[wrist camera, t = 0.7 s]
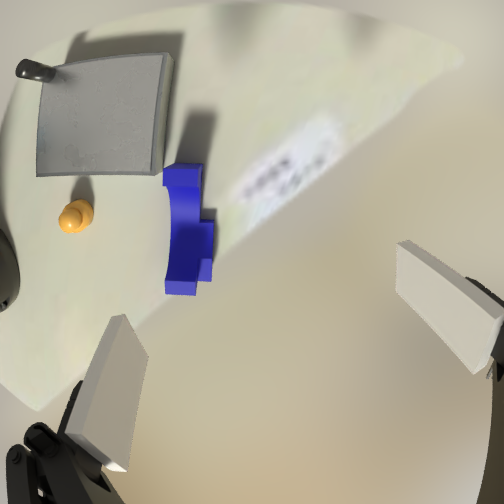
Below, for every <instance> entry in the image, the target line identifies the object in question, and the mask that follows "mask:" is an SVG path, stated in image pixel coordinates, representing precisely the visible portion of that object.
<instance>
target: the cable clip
mask: <svg viewBox="0 0 504 504" xmlns="http://www.w3.org/2000/svg"><path fill="white" fill-rule="evenodd" d="M202 168H203V164H192V163H173V164H171V165H170V166H168V167H166V168H164V169H163V186H166V187H167V189H168V192H169V198H170V208H171V239H170V253H169V262H168V268H167V274H166V278H165V294H172V295H194V296H195V295H196V288H197V281H208V282H211V280H212V279H211V278H212V256H213V230H214V220H207V219H200V210H201V187H202Z"/></svg>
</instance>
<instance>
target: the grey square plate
mask: <svg viewBox="0 0 504 504" xmlns="http://www.w3.org/2000/svg"><path fill="white" fill-rule="evenodd" d="M173 68H174V61H173V59H172V57H171V56H170V54H169V52H158V53H139V54H127V55H117V56H108V57H101V58H94V59H88V60H82V61H77V62H72V63H67V64H62V65H58V66H53V67H51V66H48V65H45V64H42V63H38V62H35V61H32V60H28V59H23V60H22V61H21V62H20V63H19V64H18V66H17V68H16V76H17V77H19V78H24V79H30V80H35V81H39V82H43V84H42V91H41V98H40V106H39V116H38V128H37V147H36V177H45V176H69V175H150V176H155V175H157V174H159V173H160V172H162V171H163V157H164V144H165V133H166V122H167V113H168V104H169V96H170V89H171V82H172V75H173Z"/></svg>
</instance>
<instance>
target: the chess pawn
mask: <svg viewBox="0 0 504 504" xmlns="http://www.w3.org/2000/svg"><path fill="white" fill-rule="evenodd" d="M92 220H93V209H92V207H91V205H90V204H89V203H88V202H87V201H86V200H83V199H78V200H76V201H74V202H72V203H70V204H68V205H67V206H66V207H65V208H64V210H63V212H62V213H61V215H60V216H59V225H60V228H61V229H62V230H63V231H64V232H66V233H72V232H73V233H78V232H80V231H82V230H83V229H84V228H86V227H87V226H88V225H90V224H91V222H92Z"/></svg>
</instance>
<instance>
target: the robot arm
mask: <svg viewBox="0 0 504 504" xmlns="http://www.w3.org/2000/svg"><path fill="white" fill-rule="evenodd" d="M19 287H20V278H19V270H18V266H17V262H16V258H15V255H14V253H13V250H12V248H11V246H10V244H9V242H8V240H7V238H6V237H5V235H4V233H3V232H2V231H1V229H0V312H3V311H4V310H6V309H7V308H8V307H9V306H10V305H11V304H12V303H13V302H14V301H15V300H16V298H17V296H18V293H19ZM396 292H397V293H398V294H399V295H400V296H401V297H402V298H403V299H404V300H405V301H406V302H407V303H408V304H409V305H410V306H411V307H412V308H413V309H414V310H415V311H416V312H417V313H418V314H419V315H420V317H421V318H422V319H423V320H424V321H425V322H426V323H427V324H428V325H429V326H430V327H431V328H432V329H433V330H434V331H435V332H436V333H437V334H438V336H439V337H440V338H441V339H442V340H443V341H444V342H445V343H446V344H447V345H448V346H449V347H450V349H451V350H452V351H453V352H454V353H455V354H456V355H457V356H458V358H459V359H460V360H461V361H462V362H463V363H464V364H465V366H466V367H467V368H468V369H469V370H470V371H471V373H472V374H475V373H476V372H478V371H479V370H481V369H482V368H484V367H485V366H486V364H487V362H488V359H489V357H490V355H491V356H492V357H493V358H494V361H493V363H492V366H491V368H490V370H489V372H488V374H487V377H486V379H489V377H490V375H491V373H493V376H492V379H493V396H492V399H493V400H492V417H491V430H490V439H489V446H488V453H487V459H486V465H485V470H484V475H483V480H482V484H481V488H480V492H479V496H478V500H477V503H476V504H504V301H503V300H501V299H500V298H499V297H497V296H496V295H495V294H494V293H491V291H490V290H488V289H487V288H485V287H484V286H483V285H482V284H481V283H479V282H478V281H476V280H474V279H471V278H468V277H465V278H464V277H463V276H461V275H460V274H459V273H457V272H456V271H455V270H453V269H452V268H450V267H449V266H448V265H446V264H445V263H443V262H442V261H440V260H439V259H437V258H436V257H434V256H433V255H431V254H430V253H428V252H427V251H426V250H424V249H422V248H421V247H419V246H418V245H416V244H414V243H413V242H412V241H410V240H407V241H403V242H400V243H397V267H396ZM147 361H148V355H147V353H146V351H145V350H144V348H143V346H142V345H141V343H140V341H139V339H138V338H137V336H136V334H135V332H134V330H133V328H132V326H131V325H130V323H129V321H128V319H127V317H126V315H125V314H122V315H118V316H113V317H111V319H110V321H109V323H108V325H107V328H106V330H105V332H104V334H103V336H102V338H101V341H100V343H99V345H98V347H97V350H96V352H95V354H94V356H93V359H92V361H91V364H90V366H89V368H88V371H87V373H86V376H85V378H84V380H82V381H81V380H80V381H79V383H78V384H77V385H76V386H75V388H74V389H73V391H72V394H71V396H70V401H68V404H67V409H65V412H64V415H63V417H62V420H61V423H60V426H59V429H58V432H57V434H56V433H54V432H53V431H52V430H51V429H50V428H49V427H48V426H47V425H46V424H44V423H42V422H37V423H35V424H33V425H31V427H29V428H28V430H27V431H26V433H25V436H24V445H26V446H27V447H28V448H29V449H30V450H31V451H28V450H27V449H26V448H25V447H24V446H22V445H20V444H16V445H14V446H12V447H11V448H10V449H9V451H8V453H7V457H6V480H7V496H8V504H125V503H124V502H123V501H122V499H121V498H120V496H119V495H118V494H117V492H116V490H115V489H114V487H113V486H112V484H111V483H110V481H109V479H108V478H107V476H106V475H105V474H104V473H103V472H102V471H101V467H102V464H103V465H104V466H105V467H107V468H108V469H110V470H111V471H122V472H128V464H129V457H130V451H131V444H132V438H133V432H134V425H135V420H136V415H137V409H138V404H139V399H140V394H141V389H142V384H143V380H144V375H145V370H146V366H147ZM38 489H40V490H41V491H43V497H42V496H40V495H39V494H38Z"/></svg>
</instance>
